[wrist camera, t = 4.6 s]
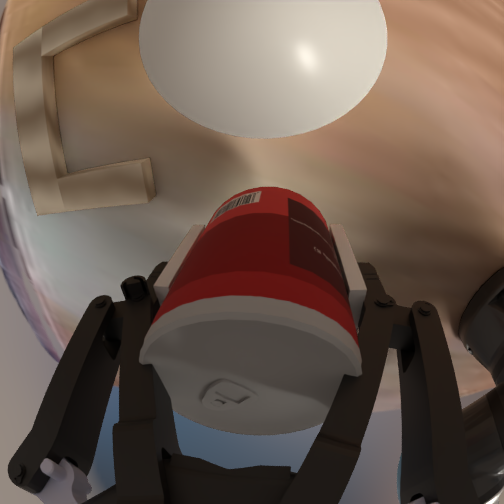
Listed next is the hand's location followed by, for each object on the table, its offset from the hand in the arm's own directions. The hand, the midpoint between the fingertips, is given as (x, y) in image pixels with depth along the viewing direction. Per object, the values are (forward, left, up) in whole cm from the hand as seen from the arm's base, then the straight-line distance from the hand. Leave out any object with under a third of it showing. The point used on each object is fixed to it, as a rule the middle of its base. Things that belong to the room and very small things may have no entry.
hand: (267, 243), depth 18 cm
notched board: (+11, +17, -6) cm, 22 cm away
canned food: (0, 0, -1) cm, 1 cm away
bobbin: (+11, -1, -6) cm, 13 cm away
